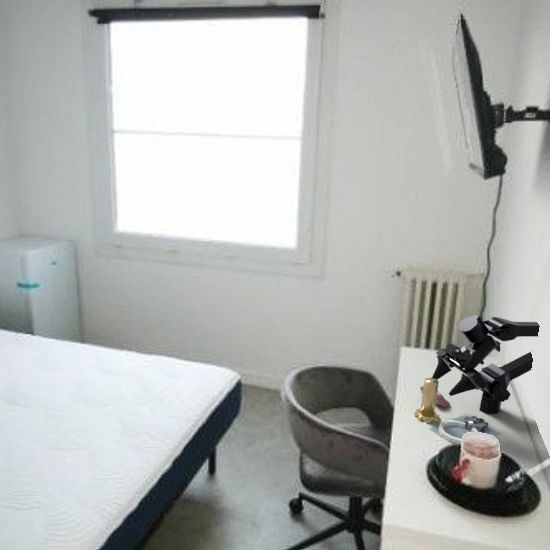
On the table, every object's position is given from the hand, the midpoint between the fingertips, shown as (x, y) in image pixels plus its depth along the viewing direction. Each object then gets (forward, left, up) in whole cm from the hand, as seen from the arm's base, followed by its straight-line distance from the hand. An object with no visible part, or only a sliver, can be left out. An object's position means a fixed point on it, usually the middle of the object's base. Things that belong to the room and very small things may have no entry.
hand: (440, 387), depth 153 cm
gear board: (0, +10, -10) cm, 14 cm away
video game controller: (-7, -7, -11) cm, 15 cm away
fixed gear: (-5, +10, -9) cm, 15 cm away
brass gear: (+3, -1, -10) cm, 11 cm away
